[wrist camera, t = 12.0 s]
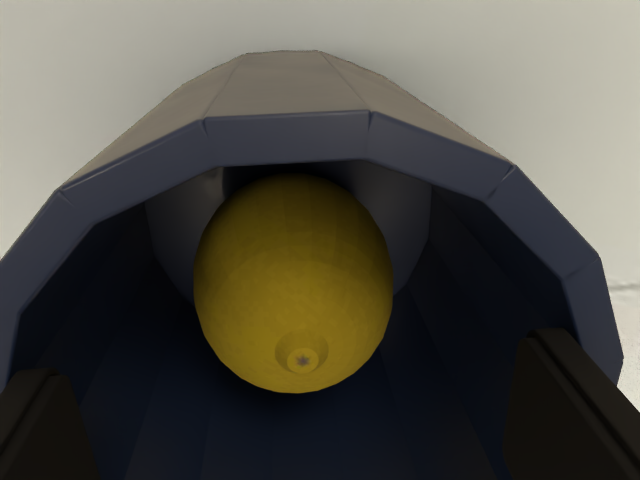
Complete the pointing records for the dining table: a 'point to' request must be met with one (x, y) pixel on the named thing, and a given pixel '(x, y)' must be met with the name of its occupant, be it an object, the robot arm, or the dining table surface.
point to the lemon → (293, 283)
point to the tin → (408, 284)
